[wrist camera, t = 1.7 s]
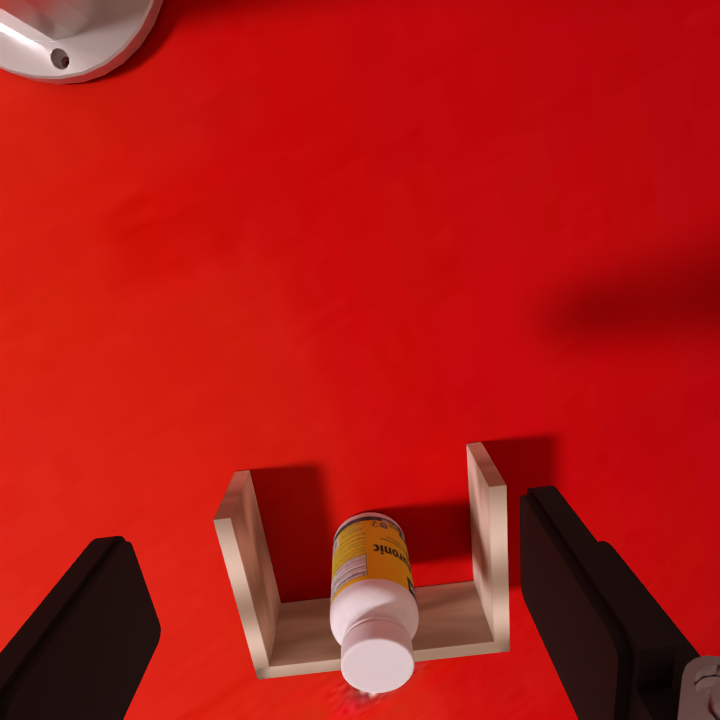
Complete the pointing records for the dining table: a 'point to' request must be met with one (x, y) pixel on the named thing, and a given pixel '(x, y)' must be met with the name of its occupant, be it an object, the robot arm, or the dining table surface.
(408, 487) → the dining table surface
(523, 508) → the robot arm
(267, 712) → the dining table surface
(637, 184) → the dining table surface
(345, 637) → the supplement bottle
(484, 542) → the open-sided box
